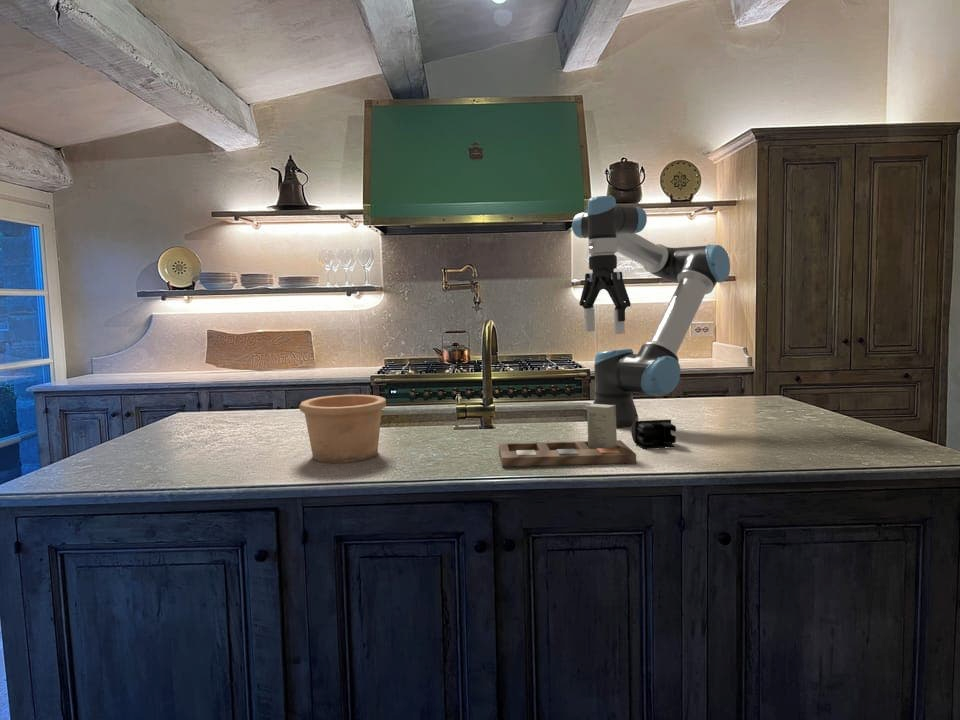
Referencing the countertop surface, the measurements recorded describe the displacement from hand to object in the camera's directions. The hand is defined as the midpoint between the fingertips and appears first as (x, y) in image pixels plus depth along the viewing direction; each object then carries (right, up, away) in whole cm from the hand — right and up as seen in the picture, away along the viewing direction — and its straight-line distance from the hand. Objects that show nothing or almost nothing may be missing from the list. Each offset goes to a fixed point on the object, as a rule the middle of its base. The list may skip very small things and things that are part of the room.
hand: (604, 332), depth 177 cm
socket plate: (-13, -32, -17) cm, 39 cm away
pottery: (-69, -33, -10) cm, 77 cm away
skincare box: (-3, -31, -14) cm, 35 cm away
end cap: (+12, -31, -6) cm, 33 cm away
